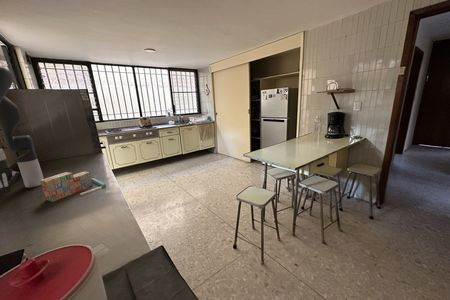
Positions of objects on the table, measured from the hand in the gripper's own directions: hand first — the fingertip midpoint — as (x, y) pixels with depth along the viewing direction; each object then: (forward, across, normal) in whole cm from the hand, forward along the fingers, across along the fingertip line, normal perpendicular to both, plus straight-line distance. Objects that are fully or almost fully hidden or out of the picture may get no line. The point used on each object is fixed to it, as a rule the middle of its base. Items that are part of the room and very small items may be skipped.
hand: (6, 193), depth 89 cm
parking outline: (+10, -31, +1) cm, 33 cm away
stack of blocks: (+10, -23, 0) cm, 25 cm away
